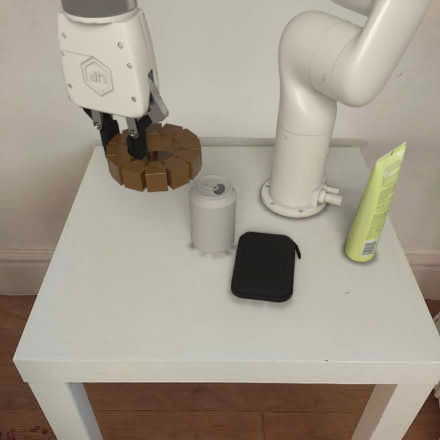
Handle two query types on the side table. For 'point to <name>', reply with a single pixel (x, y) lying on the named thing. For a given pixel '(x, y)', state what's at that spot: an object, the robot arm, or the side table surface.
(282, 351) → the side table surface
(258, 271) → the carrying case
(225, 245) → the can
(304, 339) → the side table surface
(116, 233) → the side table surface
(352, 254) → the tube
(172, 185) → the ring
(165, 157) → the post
